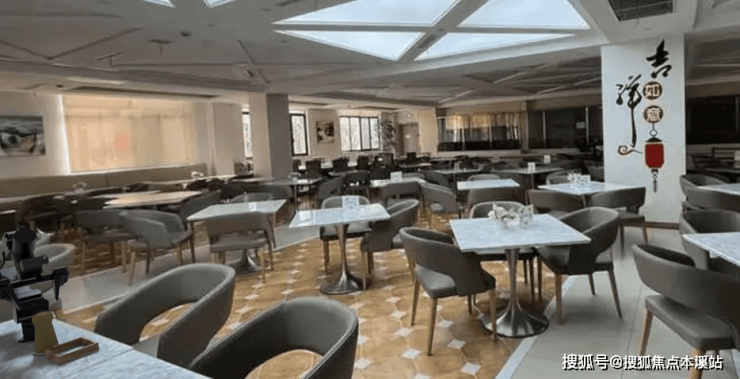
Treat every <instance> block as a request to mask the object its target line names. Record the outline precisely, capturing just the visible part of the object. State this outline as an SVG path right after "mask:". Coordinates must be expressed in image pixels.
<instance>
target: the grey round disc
mask: <svg viewBox="0 0 740 379" xmlns="http://www.w3.org/2000/svg"><path fill="white" fill-rule="evenodd" d="M32 355H33V356H37V357H38V356H39V357H40V356H45V353H35V349H34V350H33V351H32Z"/></svg>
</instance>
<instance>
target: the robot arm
mask: <svg viewBox="0 0 740 379" xmlns="http://www.w3.org/2000/svg"><path fill="white" fill-rule="evenodd" d="M37 240H38V234H37V232H35V231H34V230H33V229H30V228H27V227H26V225H25V226H18V227H17V230H13V231H8V232H7V231H6V232H4V233H3V236H1V243H2V247H3V250H0V300H2V301H7V302H8V303H10V304H11V305H12V306H13V310H12V317H13V321H14V323H16V325H19V324H20V326H21V334H22V337H21V338H20V339H18V341H17V342H18V343H23V342H31V341H35V325H34V324H33V323H32V317H33V316H34V315H35V314H37V313H40V312H45V311H49V312H50V300H48V298H47V297H45V296H44V295H43V292H41V290H40V289H38V288H35V289H31V287H30V286H33V285H38V284H43V283H48V282H51V284H52V290H53V296H54V299H55V301H56V302H58V301H59V298H60V287H63V286H64V285H65V284H66V283H68V281H69V275H70V270H69V268H68V267H66V266H61V267H56V268H51V273H48V274H44V269H43V267H44V266H48V265H49V263H50V260H49V256H48V254H47V253H42V254H39V255H38V256H36V255H35V251H36V245H37ZM10 261H12V263H13V266H11V267H5V268H3V267H4V266H5V264H6V262H10ZM43 274H44V275H43Z"/></svg>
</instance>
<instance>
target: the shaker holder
mask: <svg viewBox="0 0 740 379" xmlns="http://www.w3.org/2000/svg"><path fill="white" fill-rule="evenodd" d="M80 345H84V346H83V347H81V348H77V349H75V350H73V351H70V352H67V353H63V354H59V353H60V352H64V351H66V350H69V349H72V348H74V347H77V346H80ZM98 350H100V344H99V342H98V341H96V340H93V339H90V338H89V337H86V336H79V337H76V338H73V339H71V340H67V341H65V342H62V343H59V345H56V346H53V347H50V348H47V349H45V350H44V353H45V355H44V356H45V357H46V358H47V359H50V360H52V361H54V362H56V363H57V364H60V365H61V364H64V363H66V362H70V361H72V360H74V359H77V358H80V357H82V356H85V355H87V354H90V353H93V352H96V351H98Z"/></svg>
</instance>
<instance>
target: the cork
mask: <svg viewBox="0 0 740 379" xmlns="http://www.w3.org/2000/svg"><path fill="white" fill-rule="evenodd" d="M53 320H54V314H53V312H52V311H50V310H49V311H45V312H40V313H37V314H35V315H34V316H33V317H32V323H33V324H34V325H35V340H34V350H35V353H44V350H45V349H47V348H50V347H53V346H56V345H59V344H60V343H59V341H58V337H57V334H56V331H55V327H54V324H53Z"/></svg>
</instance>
